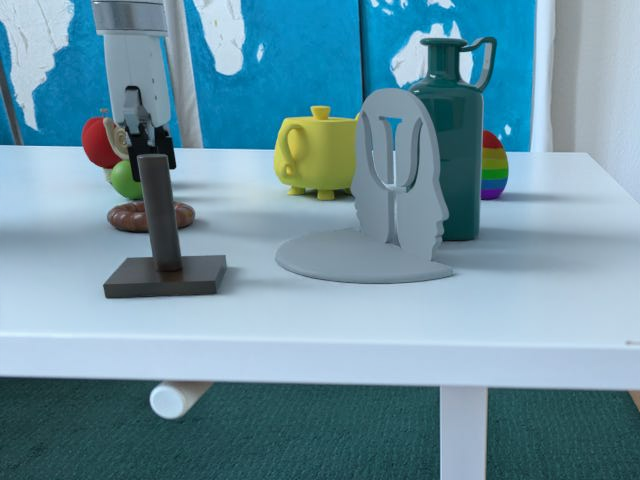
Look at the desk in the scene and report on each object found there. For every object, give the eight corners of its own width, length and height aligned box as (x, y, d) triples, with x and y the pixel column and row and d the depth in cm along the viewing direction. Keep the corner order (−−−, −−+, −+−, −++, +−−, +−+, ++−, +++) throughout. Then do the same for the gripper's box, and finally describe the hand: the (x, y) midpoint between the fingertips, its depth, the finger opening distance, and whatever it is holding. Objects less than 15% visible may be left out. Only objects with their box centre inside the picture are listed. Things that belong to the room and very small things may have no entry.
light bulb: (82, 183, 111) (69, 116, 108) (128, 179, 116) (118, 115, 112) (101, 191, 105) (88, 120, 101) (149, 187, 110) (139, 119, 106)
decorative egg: (451, 199, 108) (452, 130, 104) (459, 190, 115) (460, 126, 111) (505, 202, 107) (508, 133, 103) (509, 193, 114) (512, 128, 110)
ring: (100, 234, 81) (97, 215, 80) (120, 217, 89) (117, 199, 88) (189, 232, 83) (187, 213, 82) (200, 216, 91) (198, 198, 90)
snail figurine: (133, 193, 104) (119, 107, 100) (164, 198, 102) (151, 110, 97) (101, 199, 100) (84, 109, 95) (132, 203, 97) (117, 111, 93)
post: (105, 298, 60) (79, 162, 56) (129, 269, 68) (108, 149, 64) (216, 293, 62) (200, 162, 57) (227, 266, 70) (213, 149, 66)
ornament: (457, 274, 70) (460, 93, 63) (334, 296, 62) (324, 93, 55) (351, 232, 85) (345, 83, 79) (243, 245, 78) (227, 82, 71)
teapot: (251, 195, 106) (242, 105, 101) (342, 180, 122) (338, 101, 117) (318, 206, 99) (312, 110, 94) (405, 189, 115) (404, 106, 110)
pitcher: (409, 241, 82) (408, 32, 73) (405, 225, 89) (403, 35, 81) (492, 240, 83) (500, 36, 75) (481, 225, 91) (487, 38, 82)
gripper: (114, 24, 88) (138, 166, 94) (72, 17, 72) (105, 187, 79) (178, 25, 89) (198, 165, 96) (151, 19, 74) (177, 186, 80)
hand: (156, 175), depth 87 cm, fingers open, 9 cm apart
